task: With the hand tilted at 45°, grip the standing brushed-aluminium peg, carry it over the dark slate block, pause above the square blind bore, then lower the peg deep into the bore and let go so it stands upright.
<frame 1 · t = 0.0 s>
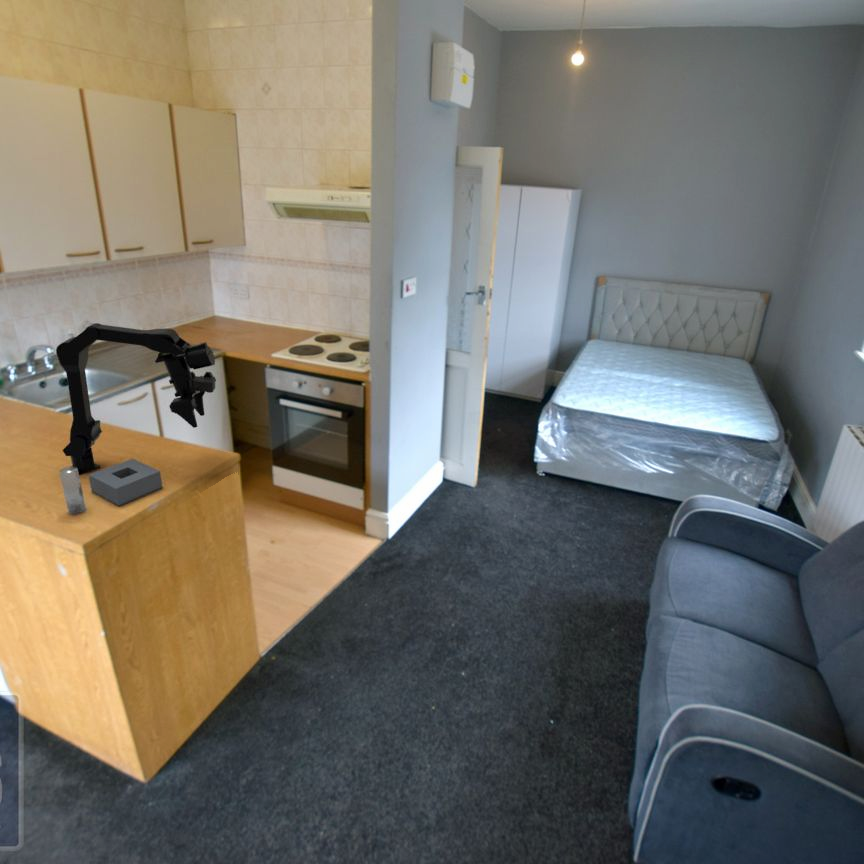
hand: (199, 421, 172), 15 cm above the table, tool pointing down, fingers open, 9 cm apart
aluminium peg: (77, 510, 152), on the table
slate socket block: (127, 490, 163), on the table
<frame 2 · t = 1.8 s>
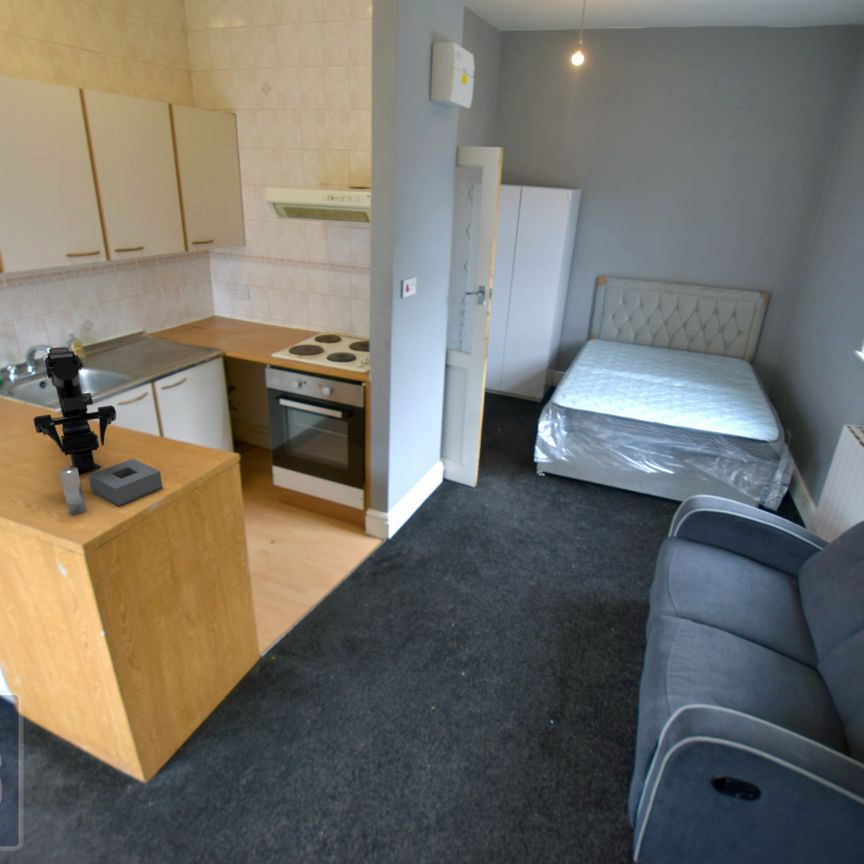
hand: (83, 448, 153), 15 cm above the table, tool tilted 40°, fingers open, 9 cm apart
nothing on the table moved.
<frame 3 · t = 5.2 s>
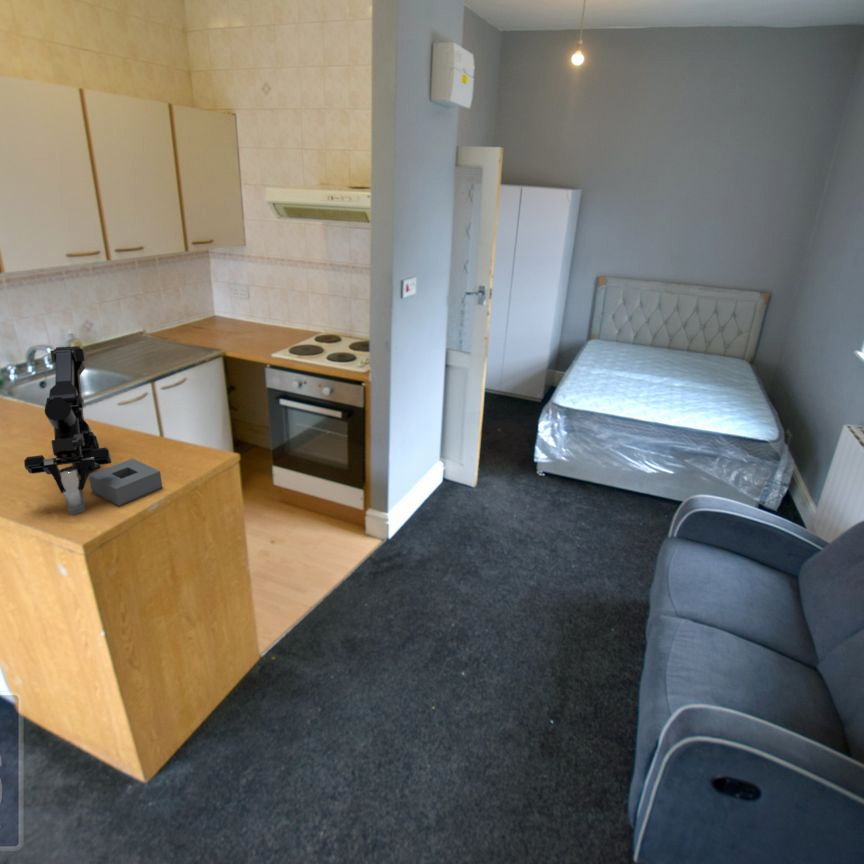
hand: (72, 491, 148), 7 cm above the table, tool tilted 45°, fingers closed on aluminium peg, 4 cm apart
aluminium peg: (77, 510, 152), on the table, touching gripper
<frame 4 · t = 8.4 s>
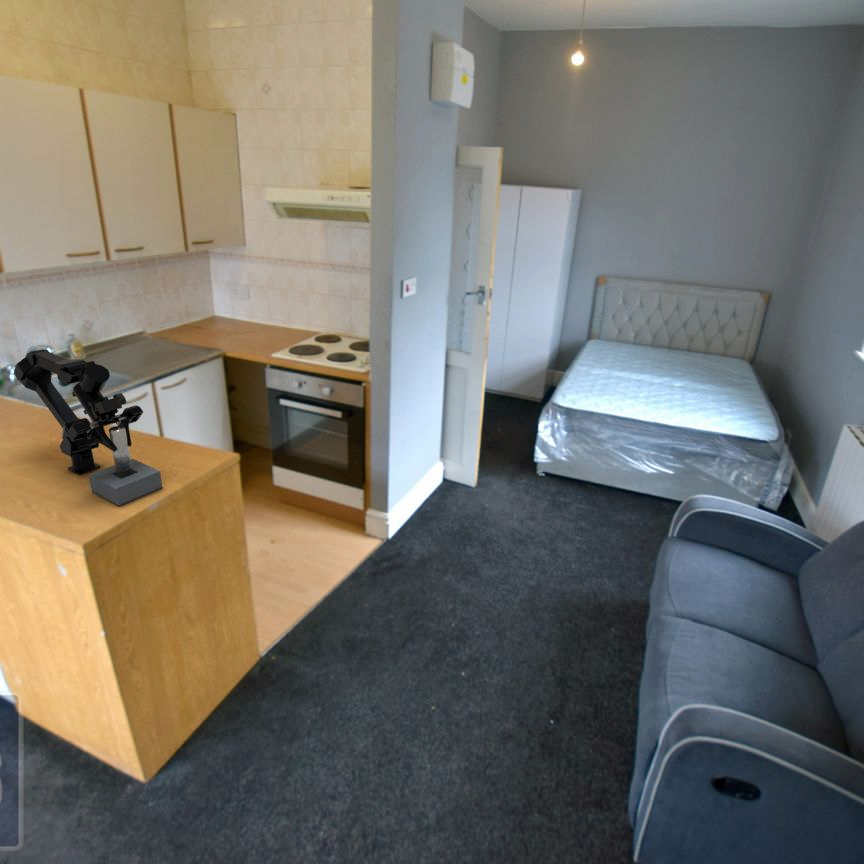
hand: (123, 448, 157), 14 cm above the table, tool tilted 45°, fingers closed on aluminium peg, 4 cm apart
aluminium peg: (123, 468, 160), point 7 cm above the table, touching gripper
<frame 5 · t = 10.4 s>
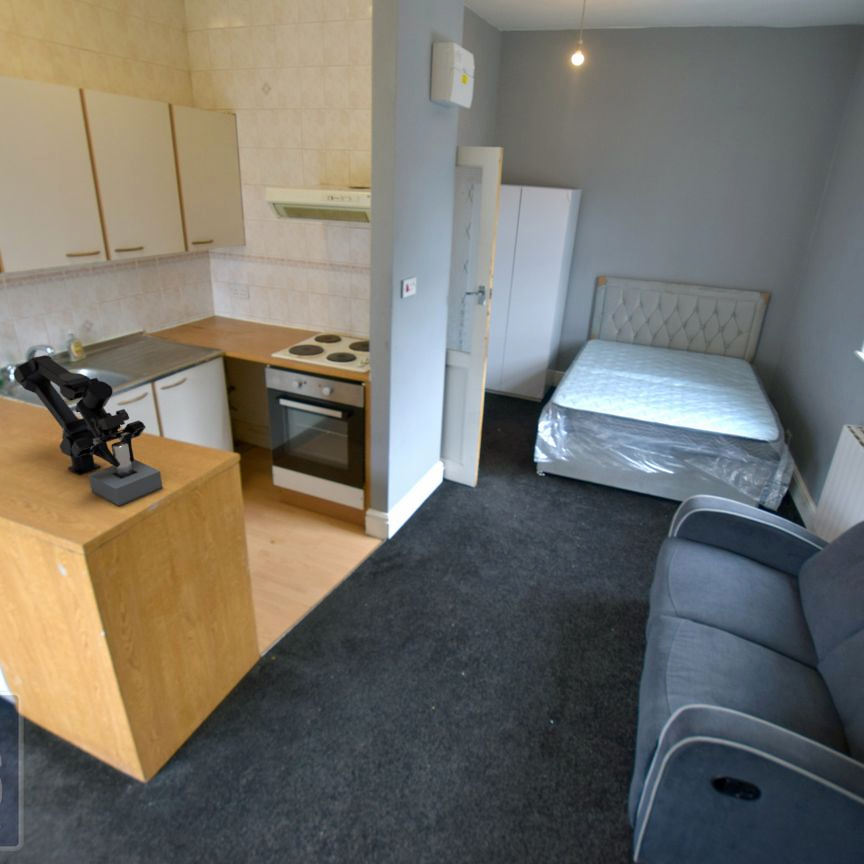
hand: (125, 463, 159), 9 cm above the table, tool tilted 45°, fingers closed on aluminium peg, 4 cm apart
aluminium peg: (126, 483, 162), point 2 cm above the table, touching gripper
when the fingers open (8 cm above the table, at t = 11.8 s): aluminium peg drops 1 cm, resting on slate socket block.
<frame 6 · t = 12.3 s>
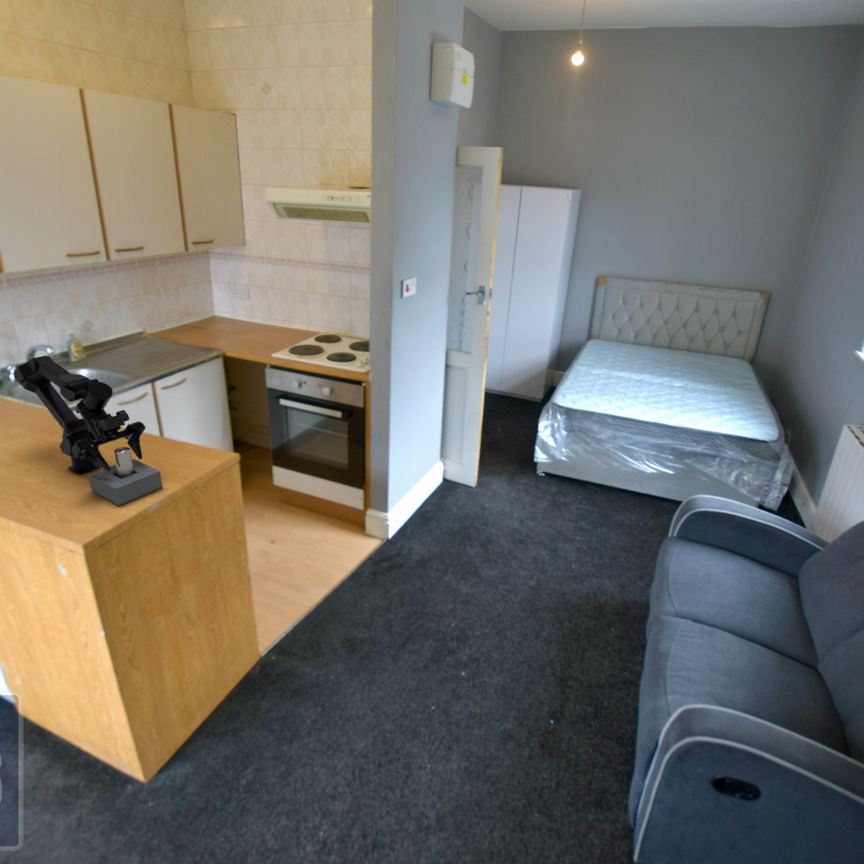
hand: (125, 464, 159), 9 cm above the table, tool tilted 45°, fingers open, 9 cm apart
aluminium peg: (127, 488, 163), point 1 cm above the table, touching slate socket block
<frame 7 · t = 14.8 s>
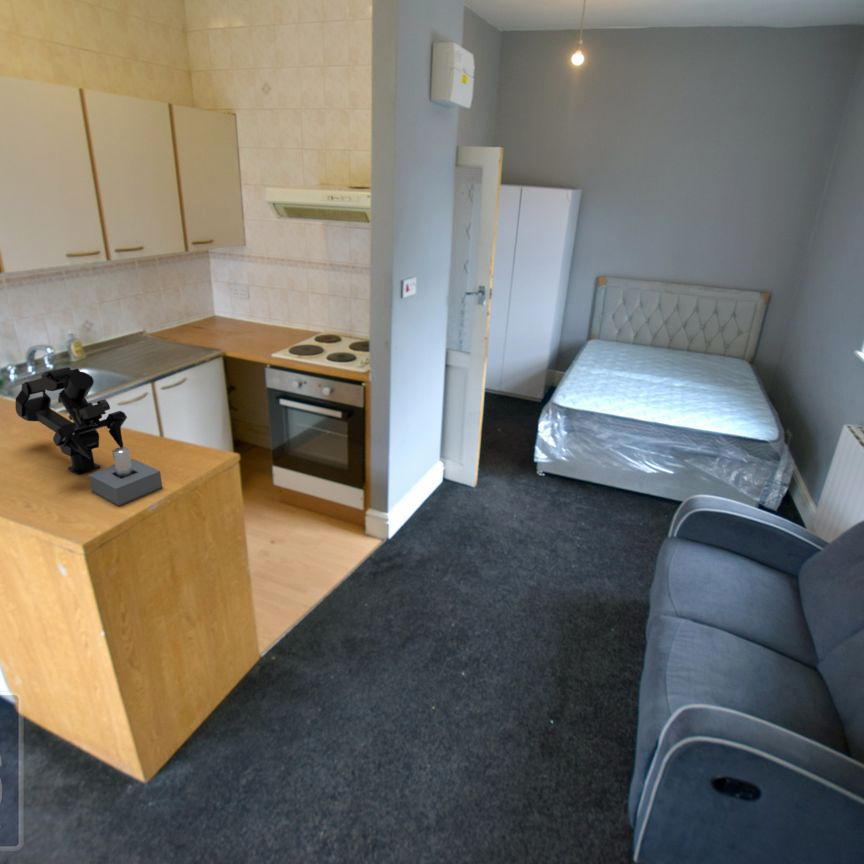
hand: (106, 452, 163), 10 cm above the table, tool tilted 45°, fingers open, 9 cm apart
nothing on the table moved.
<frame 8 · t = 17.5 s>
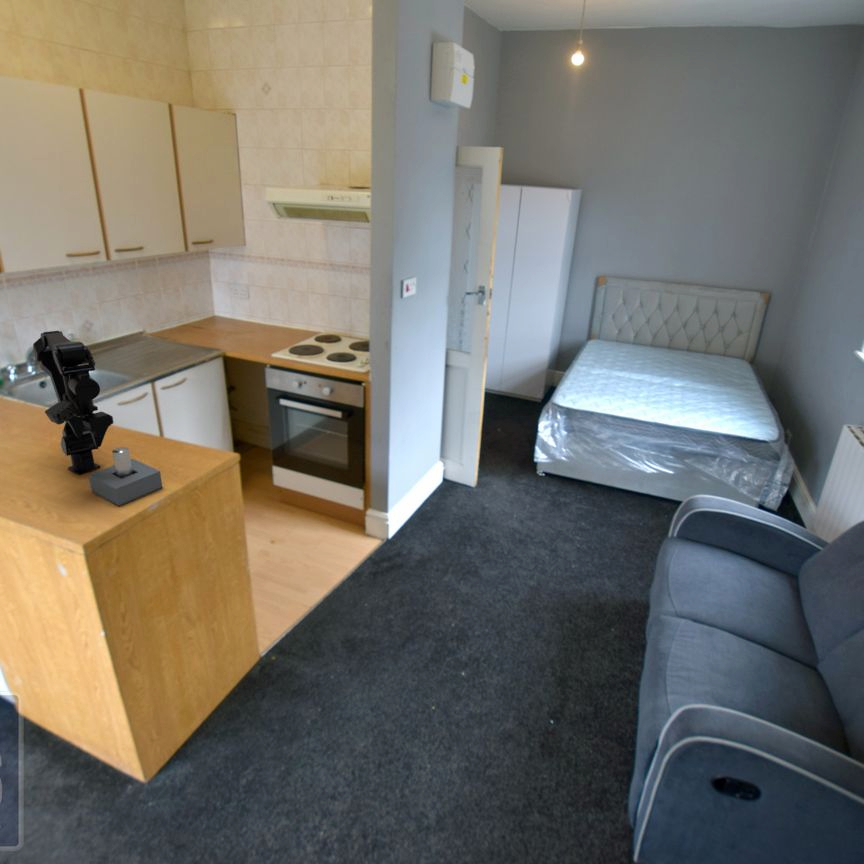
hand: (88, 442, 160), 13 cm above the table, tool pointing down, fingers open, 9 cm apart
nothing on the table moved.
at the end: aluminium peg 0.0 cm off-centre on the slate socket block, point 0.5 cm above the slate socket block's base; aluminium peg tilted 0°; the gripper is holding nothing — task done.
